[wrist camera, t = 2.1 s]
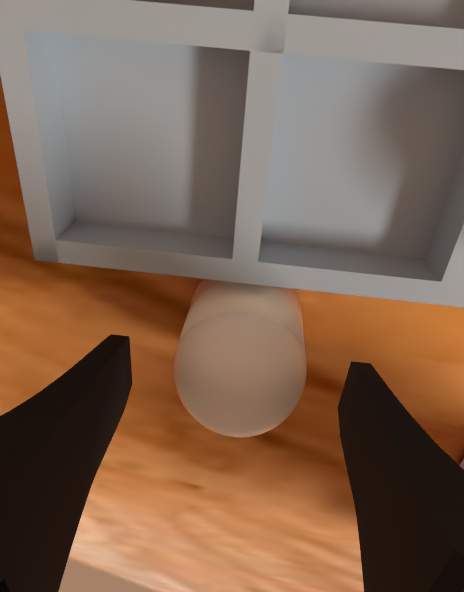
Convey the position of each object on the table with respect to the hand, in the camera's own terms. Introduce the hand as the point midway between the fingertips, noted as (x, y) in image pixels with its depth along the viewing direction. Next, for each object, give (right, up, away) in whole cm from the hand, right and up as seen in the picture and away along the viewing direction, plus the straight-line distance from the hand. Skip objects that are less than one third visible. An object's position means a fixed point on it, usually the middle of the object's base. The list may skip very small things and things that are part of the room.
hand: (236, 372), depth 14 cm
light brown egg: (0, +2, +3) cm, 4 cm away
